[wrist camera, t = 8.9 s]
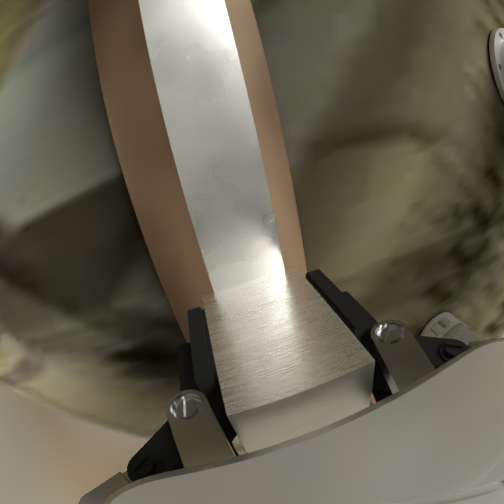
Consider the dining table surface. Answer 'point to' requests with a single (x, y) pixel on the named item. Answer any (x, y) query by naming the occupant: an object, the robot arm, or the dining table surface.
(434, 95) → the dining table surface
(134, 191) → the base board
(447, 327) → the spray can
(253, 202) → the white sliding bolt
